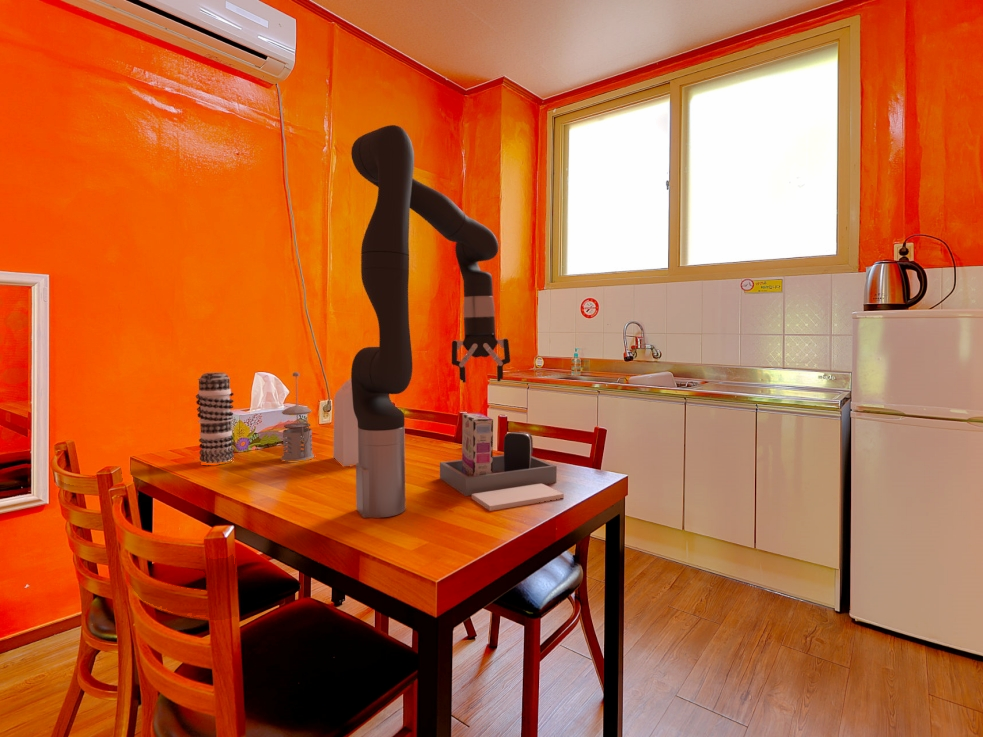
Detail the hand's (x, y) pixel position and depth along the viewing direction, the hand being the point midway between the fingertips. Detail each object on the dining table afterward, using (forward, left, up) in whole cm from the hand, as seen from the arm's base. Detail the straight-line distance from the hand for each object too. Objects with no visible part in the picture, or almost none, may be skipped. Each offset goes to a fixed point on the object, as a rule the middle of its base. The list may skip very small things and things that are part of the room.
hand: (481, 381), depth 127 cm
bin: (+3, -3, -24) cm, 25 cm away
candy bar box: (-3, -3, -24) cm, 25 cm away
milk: (-23, +33, -24) cm, 47 cm away
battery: (+9, -3, -24) cm, 26 cm away
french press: (-38, +42, -24) cm, 62 cm away
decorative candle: (-59, +48, -24) cm, 80 cm away
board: (0, -18, -24) cm, 30 cm away
